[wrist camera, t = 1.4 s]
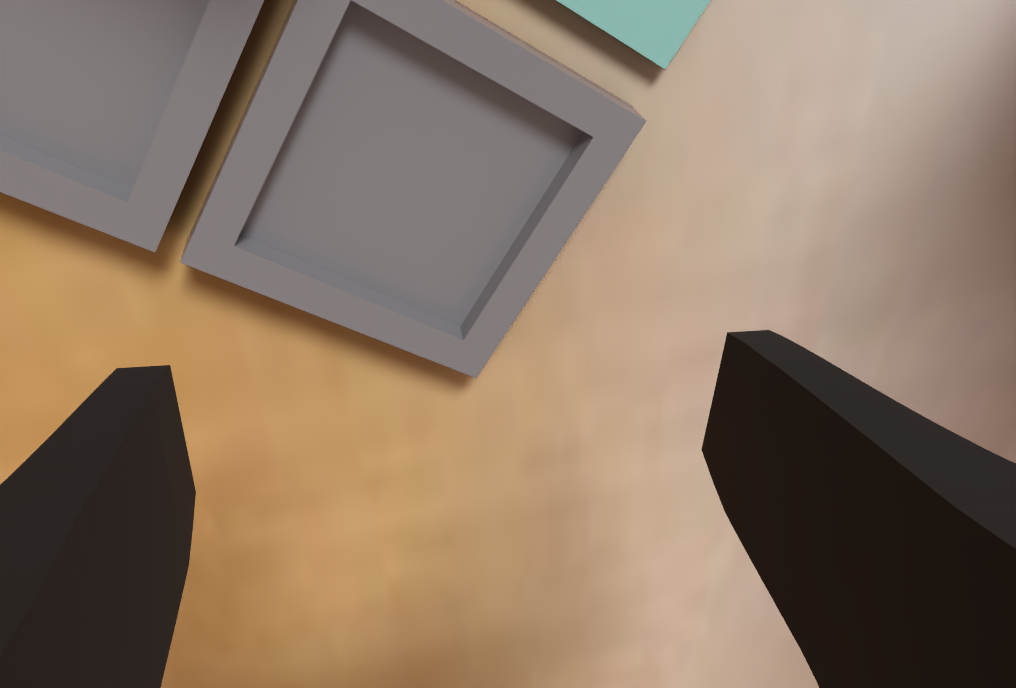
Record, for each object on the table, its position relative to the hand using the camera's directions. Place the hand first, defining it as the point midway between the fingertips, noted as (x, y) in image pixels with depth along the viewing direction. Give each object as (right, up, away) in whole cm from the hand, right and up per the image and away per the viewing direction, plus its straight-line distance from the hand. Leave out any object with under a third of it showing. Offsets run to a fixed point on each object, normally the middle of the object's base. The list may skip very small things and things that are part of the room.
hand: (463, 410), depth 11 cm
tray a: (-2, +5, +7) cm, 8 cm away
